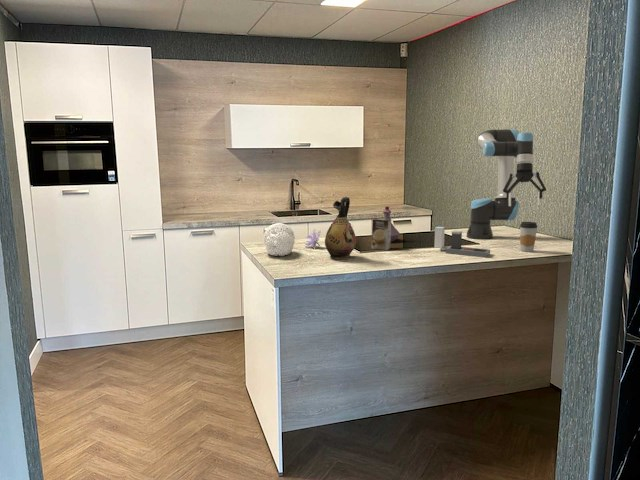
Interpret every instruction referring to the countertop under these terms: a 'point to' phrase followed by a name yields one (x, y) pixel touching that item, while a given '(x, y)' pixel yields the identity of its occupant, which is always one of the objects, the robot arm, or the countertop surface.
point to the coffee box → (381, 233)
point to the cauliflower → (279, 239)
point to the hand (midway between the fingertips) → (524, 205)
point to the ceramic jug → (340, 233)
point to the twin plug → (456, 240)
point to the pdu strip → (467, 251)
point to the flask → (393, 230)
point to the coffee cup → (527, 236)
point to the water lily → (312, 239)
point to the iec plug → (439, 237)
